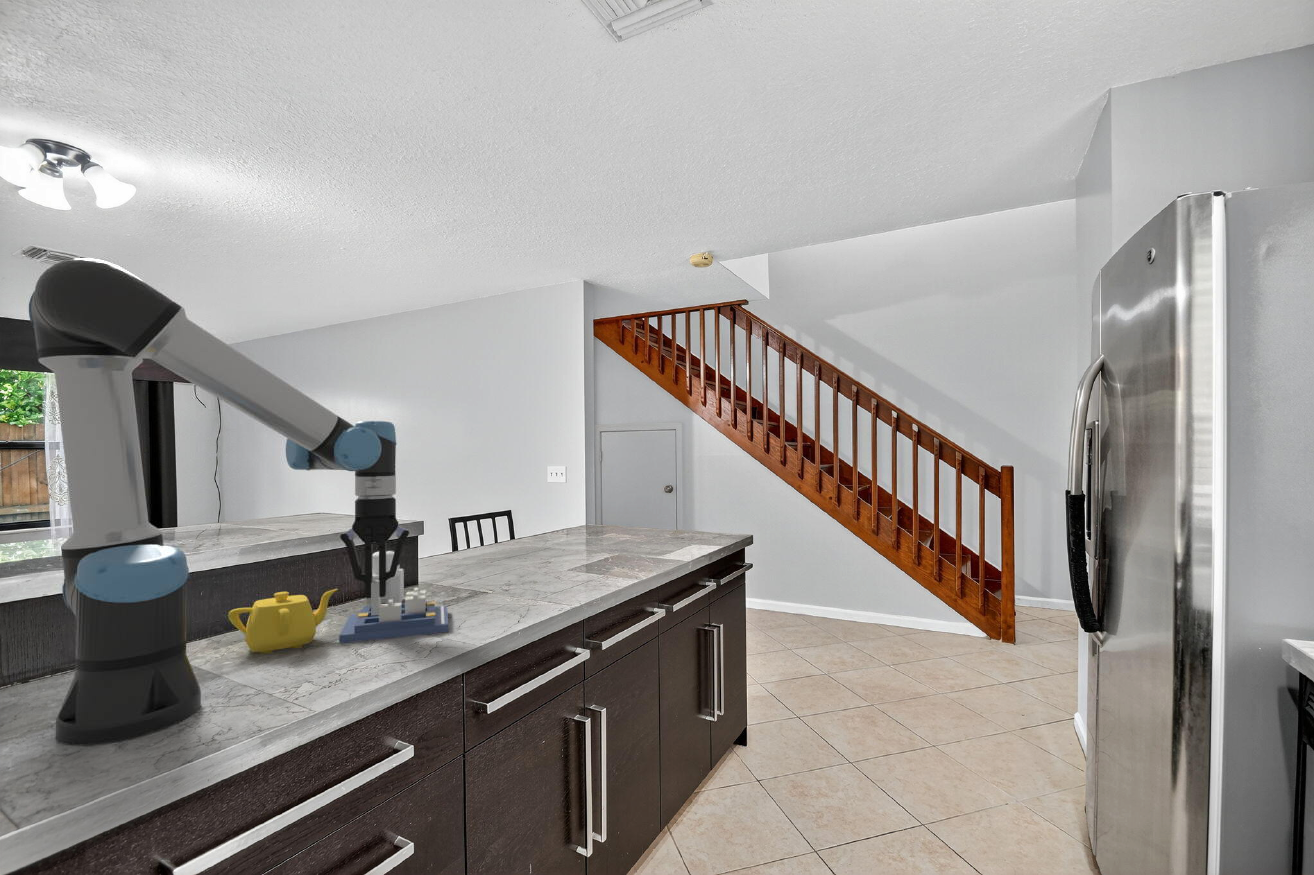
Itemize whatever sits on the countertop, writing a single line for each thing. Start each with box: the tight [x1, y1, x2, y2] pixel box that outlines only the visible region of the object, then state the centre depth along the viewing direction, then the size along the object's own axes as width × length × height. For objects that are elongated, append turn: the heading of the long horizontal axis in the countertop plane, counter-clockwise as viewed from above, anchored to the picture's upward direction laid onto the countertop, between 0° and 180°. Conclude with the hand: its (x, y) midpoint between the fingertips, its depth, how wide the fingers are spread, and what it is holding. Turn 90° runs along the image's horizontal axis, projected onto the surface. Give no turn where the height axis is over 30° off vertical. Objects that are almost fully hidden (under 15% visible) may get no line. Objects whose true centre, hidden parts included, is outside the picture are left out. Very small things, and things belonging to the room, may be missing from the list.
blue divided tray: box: [338, 600, 449, 644], centre depth 127 cm, size 20×16×3 cm
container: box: [364, 549, 405, 607], centre depth 146 cm, size 8×8×13 cm
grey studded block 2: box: [405, 587, 427, 606], centre depth 133 cm, size 4×3×5 cm
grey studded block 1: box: [379, 599, 401, 622], centre depth 122 cm, size 4×3×5 cm
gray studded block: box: [404, 592, 425, 614], centre depth 128 cm, size 4×3×5 cm
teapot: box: [227, 588, 338, 655], centre depth 115 cm, size 14×13×10 cm
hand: (375, 613), depth 121 cm, fingers closed
